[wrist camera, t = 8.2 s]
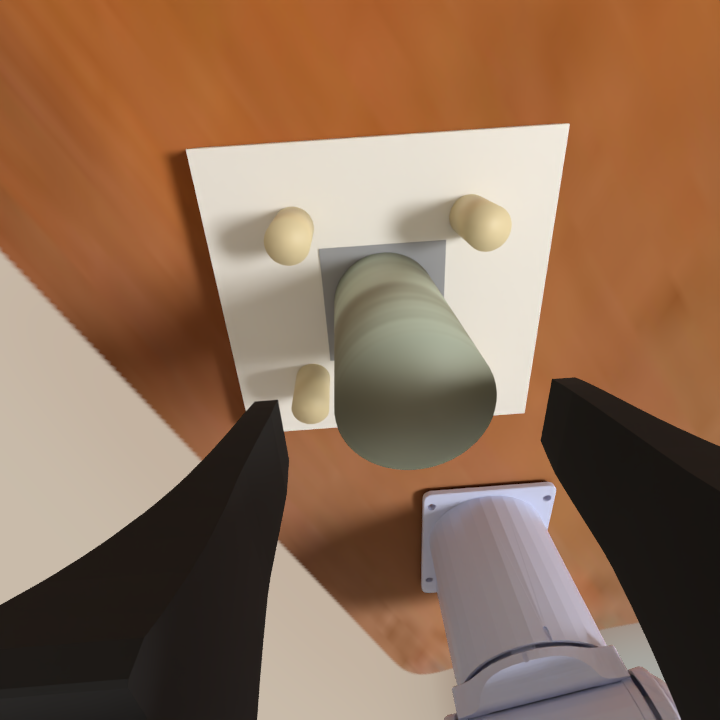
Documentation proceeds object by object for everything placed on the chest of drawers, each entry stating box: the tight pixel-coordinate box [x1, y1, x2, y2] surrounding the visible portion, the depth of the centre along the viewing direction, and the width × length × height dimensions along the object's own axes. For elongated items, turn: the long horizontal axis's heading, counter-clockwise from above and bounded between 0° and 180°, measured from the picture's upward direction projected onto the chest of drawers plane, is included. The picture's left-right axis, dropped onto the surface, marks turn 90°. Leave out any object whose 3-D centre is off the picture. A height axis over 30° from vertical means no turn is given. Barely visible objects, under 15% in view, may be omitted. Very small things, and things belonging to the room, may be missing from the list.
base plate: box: [186, 124, 570, 431], centre depth 18 cm, size 13×14×4 cm
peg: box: [334, 252, 497, 470], centre depth 15 cm, size 4×4×8 cm
